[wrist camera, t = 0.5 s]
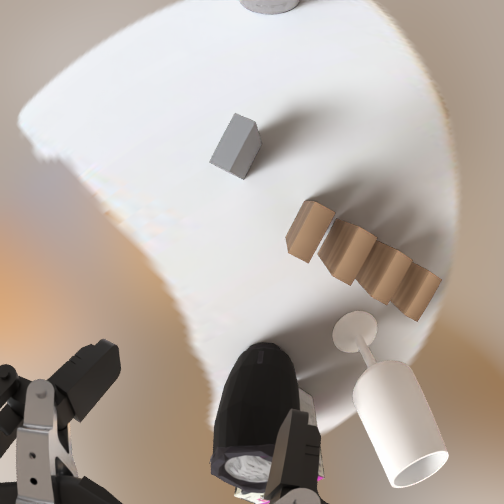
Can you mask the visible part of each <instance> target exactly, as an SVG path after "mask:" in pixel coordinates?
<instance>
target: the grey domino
mask: <svg viewBox="0 0 504 504" xmlns="http://www.w3.org/2000/svg"><path fill="white" fill-rule="evenodd" d="M261 145H262V142H261V138H260V135H259V132H258V128H257V125H256V122H255V121H253V120H251V119H248V118H246V117H244V116H241V115H239V114H236V113H235V114H234V116H233V118H232V119H231V121H230V123H229V125H228V127H227V129H226V131H225V132H224V134H223V136H222V138H221V140H220V142H219V144H218V146H217V148H216V150H215V152H214V154H213V156H212V158H211V160H210V162H209V163H211V164H213V165H215V166H217V167H219V168H221V169H223V170H225V171H227V172H229V173H231V174H233V175H235V176H237V177H239V178H241V179H243V180H244V178H245V176H246V174H247V172H248V170H249V168H250V166H251V164H252V162H253V160H254V159H255V157H256V155H257V153H258V151H259V149H260V147H261Z"/></svg>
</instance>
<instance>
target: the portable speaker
mask: <svg viewBox="0 0 504 504" xmlns="http://www.w3.org/2000/svg"><path fill="white" fill-rule="evenodd" d="M291 409H295V410H300V398H299V388H298V383H297V379H296V375H295V370H294V366H293V363H292V362H291V360H290V358H289V357H288V355H287V354H286V353H284V352H283V351H282V350H281V349H280V348H279V347H278V346H277V345H275V344H274V343H258V344H255V345H252V346H250V347H249V348H248V349H247V350H246V351H244V352H243V353H242V354H241V355H240V356H239V358H238V360H237V361H236V363H235V365H234V367H233V369H232V370H231V372H230V374H229V377H228V379H227V381H226V383H225V386H224V389H223V393H222V397H221V401H220V405H219V409H218V412H217V416H216V420H215V425H214V440H213V455H212V456H211V459H210V462H211V474H212V475H215V476H216V477H218V478H219V479H221V480H223V481H224V482H226V483H228V484H230V485H233V486H235V487H237V488H239V489H241V490H243V491H245V492H250V493H265V490H266V486H267V481H268V477H269V473H270V468H271V463H272V459H273V454H274V449H275V444H276V439H277V435H278V432H279V429H280V427H281V425H282V423H283V422H284V420H285V418H286V417H287V415H288V413H289V411H290V410H291Z"/></svg>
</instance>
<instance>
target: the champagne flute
mask: <svg viewBox="0 0 504 504" xmlns="http://www.w3.org/2000/svg"><path fill="white" fill-rule="evenodd" d="M377 328H378V327H377V322H376V320H375V318H374V317H373V316H372V315H371V314H370V313H368V312H365V311H353V312H350V313H348V314H346V315H344V316H343V317H342V318H341V319H340V320H339V321H338V322H337V323H336V325H335V327H334V329H333V333H332V338H333V342H334V344H335V346H336V347H337V348H338V349H339V350H341V351H343V352H347V353H355V352H359V351H360V353H361V355H362V357H363V359H364V361H365V363H366V365H367V367H368V369H366V370H365V371H364V372H363V374H362V375H361V376H360V377H359V379H358V381H357V382H356V385H355V387H354V390H353V403H354V405H355V407H356V410H357V412H358V414H359V416H360V418H361V420H362V422H363V424H364V426H365V429H366V431H367V433H368V435H369V437H370V439H371V441H372V444H373V446H374V448H375V450H376V452H377V455H378V457H379V459H380V461H381V463H382V465H383V468H384V470H385V472H386V475H387V477H388V479H389V481H390V484H391V486H393V487H395V488H402V487H407V486H411V485H414V484H416V483H419V482H421V481H423V480H425V479H426V478H428V477H430V476H431V475H433V474H434V473H435V472H437V471H438V470H439V469H440V468H441V467H442V466H443V465H444V464H445V462H446V461H447V459H448V451H447V449H446V446H445V444H444V441H443V438H442V436H441V433H440V431H439V428H438V426H437V424H436V421H435V419H434V416H433V414H432V412H431V409H430V407H429V405H428V403H427V401H426V398H425V396H424V394H423V392H422V390H421V388H420V386H419V384H418V381H417V379H416V377H415V375H414V373H413V371H412V369H411V368H410V367H409V366H408V365H406V364H405V363H402V362H399V361H382V362H379V363H377V362H376V360H375V358H374V357H373V355H372V353H371V351H370V349H369V348H368V346H369V345H370V344H371V343H372V342H373V340H374V339H375V337H376V334H377Z"/></svg>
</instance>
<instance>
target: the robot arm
mask: <svg viewBox="0 0 504 504" xmlns="http://www.w3.org/2000/svg"><path fill="white" fill-rule="evenodd" d="M239 1H240V3H241V4H242V5H243V6H244V7H245V8H247V9H249V10H251V11H253V12H257V13H262V14H277V13H282V12H286V11H289V10H291V9H292V8H294V7H295V6H296V5H297V4H298V3H299V1H300V0H239ZM120 371H121V364H120V357H119V348H118V346H117V345H115V344H113V343H111V342H109V341H107V340H106V339H102V340H100V341H99V342H98V343H97V344H96V345H95V346H94V345H92V344H90V345H88V346H85V347H83V348H81V349H80V350H79V351H78V352H77V353H76V354H75V356H72V357H71V358H70V359H69V361H67V362H66V363H65V364H64V365H63V366H62V367H61V368H60V369H58V370H57V371H56V372H55V373H54V374H53V375H52V376H51V377H50V378H49V379H48V380H43V379H38V380H34V381H30V380H27V379H25V378H23V377H20V376H18V374H17V373H16V370H15V369H14V368H13V367H12V366H11V365H7V364H5V365H1V366H0V408H1V407H2V406H3V405H4V404H5V403H6V402H7V404H6V405H5V407H4V408H3V409H2V410H1V411H0V458H1V457H2V456H3V454H4V453H5V452H6V450H7V449H8V448H9V446H10V445H11V444H12V442H13V441H14V440H15V439H16V437H17V441H16V442H17V443H16V469H17V470H16V471H17V482H5V483H0V504H122V503H121V502H120V501H118V500H117V499H116V498H115V497H114V496H113V495H112V494H110V493H109V492H108V491H107V490H106V489H104V488H103V487H101V486H99V485H98V484H96V483H95V482H93V481H91V480H90V479H88V478H87V477H85V476H84V477H83V478H82V479H81V478H78V472H77V468H76V465H75V462H74V460H73V455H72V444H71V430H70V421H71V420H72V419H73V418H74V419H76V420H77V421H78V422H81V421H82V420H83V419H84V418H85V416H86V415H87V414H88V413H89V412H90V410H91V409H92V408H93V407H94V406H95V404H96V403H97V402H98V401H99V400H100V398H101V397H102V396H103V395H104V394H105V392H106V391H107V390H108V389H109V388H110V386H111V385H112V384H113V383H114V382H115V381H116V379H117V378H118V376H119V374H120ZM308 420H309V413H308V412H305V411H300V410H295V409H291V410H290V411H289V413H288V415H287V417H286V418H285V420H284V422H283V423H282V425H281V427H280V429H279V432H278V435H277V439H276V444H275V449H274V454H273V459H272V463H271V468H270V473H269V477H268V481H267V486H266V490H265V494H264V498H263V499H264V500H269V501H270V503H269V504H328V503H326V502H325V501H323V500H322V499H321V498H320V496H319V494H318V491H317V481H318V470H319V458H320V457H319V456H320V444H321V442H320V441H321V435H320V433H319V430H318V428H317V426H314V425H308Z"/></svg>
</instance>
